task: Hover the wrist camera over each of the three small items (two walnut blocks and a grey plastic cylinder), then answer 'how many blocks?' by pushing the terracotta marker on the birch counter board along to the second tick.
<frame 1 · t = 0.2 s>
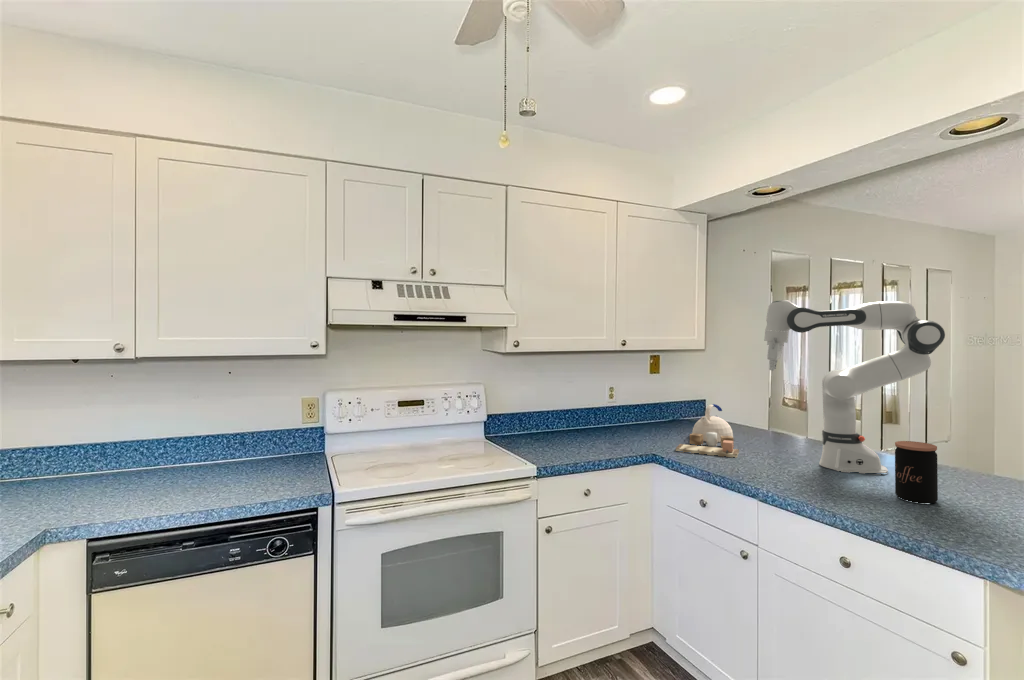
hand: (772, 369, 208), 39 cm above the counter, tool pointing down, fingers open, 8 cm apart
walnut block 1: (696, 444, 240), on the counter
coffee jar: (916, 500, 157), on the counter
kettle: (712, 438, 253), on the counter
grey cylinder: (711, 445, 237), on the counter
walnut block 2: (727, 447, 233), on the counter
counter marker: (727, 446, 218), point 4 cm above the counter, slide at 0.0 cm
counter board: (707, 452, 224), on the counter
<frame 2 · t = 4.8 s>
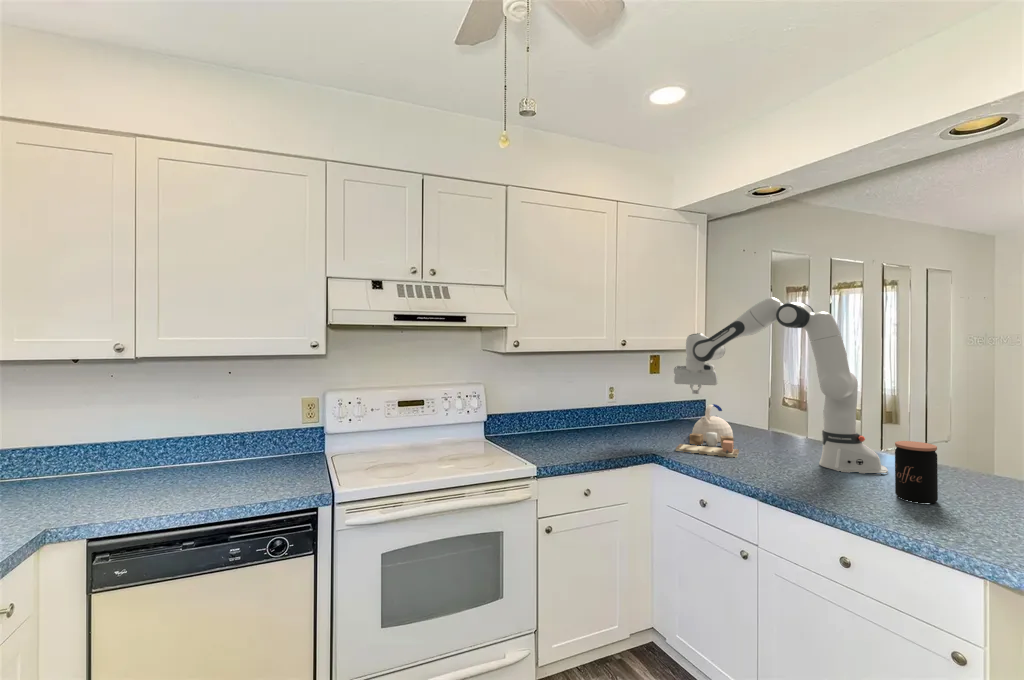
hand: (695, 393, 240), 25 cm above the counter, tool pointing down, fingers closed
nothing on the counter moved.
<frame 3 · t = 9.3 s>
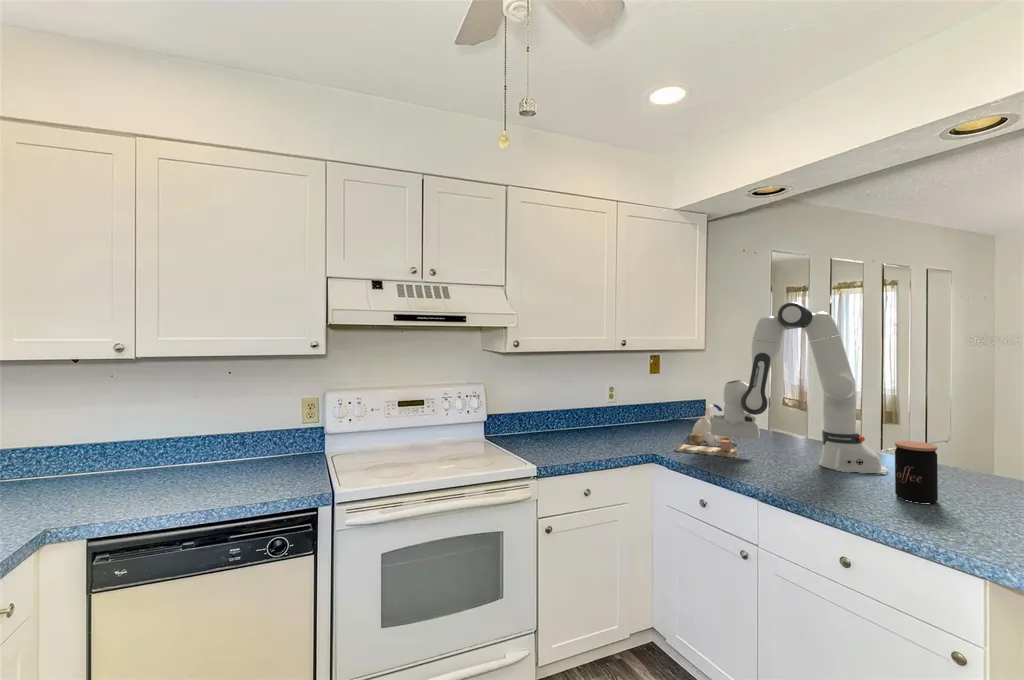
hand: (734, 446, 218), 4 cm above the counter, tool pointing down, fingers closed
counter marker: (725, 446, 218), point 4 cm above the counter, slide at 0.9 cm, touching gripper
everything else where it was.
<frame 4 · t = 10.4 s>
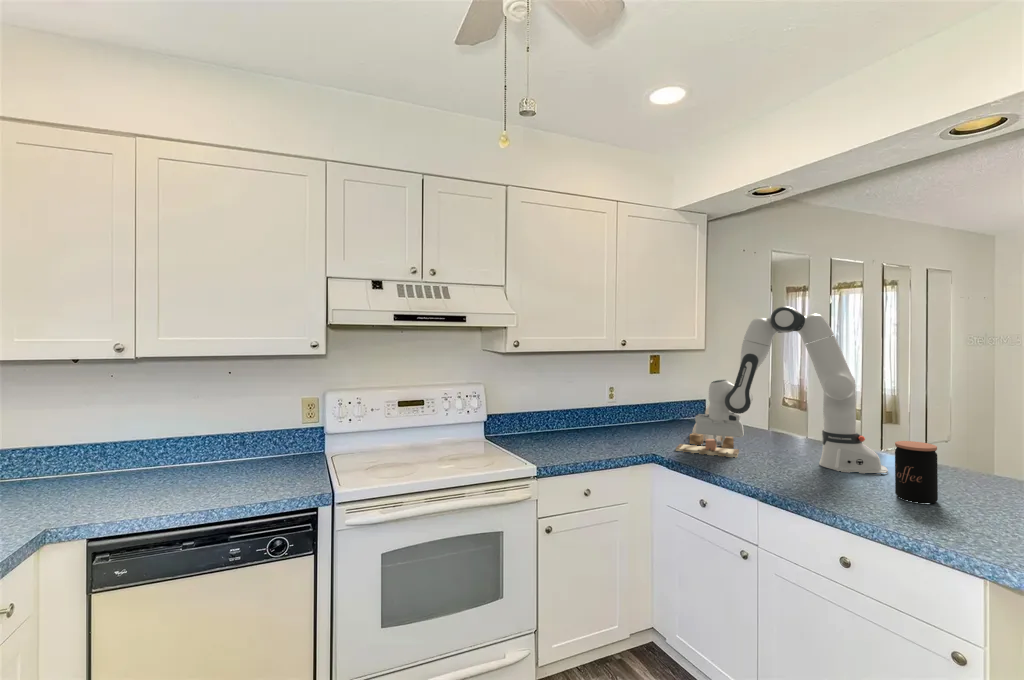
hand: (719, 445, 221), 4 cm above the counter, tool pointing down, fingers closed
counter marker: (710, 444, 222), point 4 cm above the counter, slide at 7.2 cm, touching gripper
everything else where it was.
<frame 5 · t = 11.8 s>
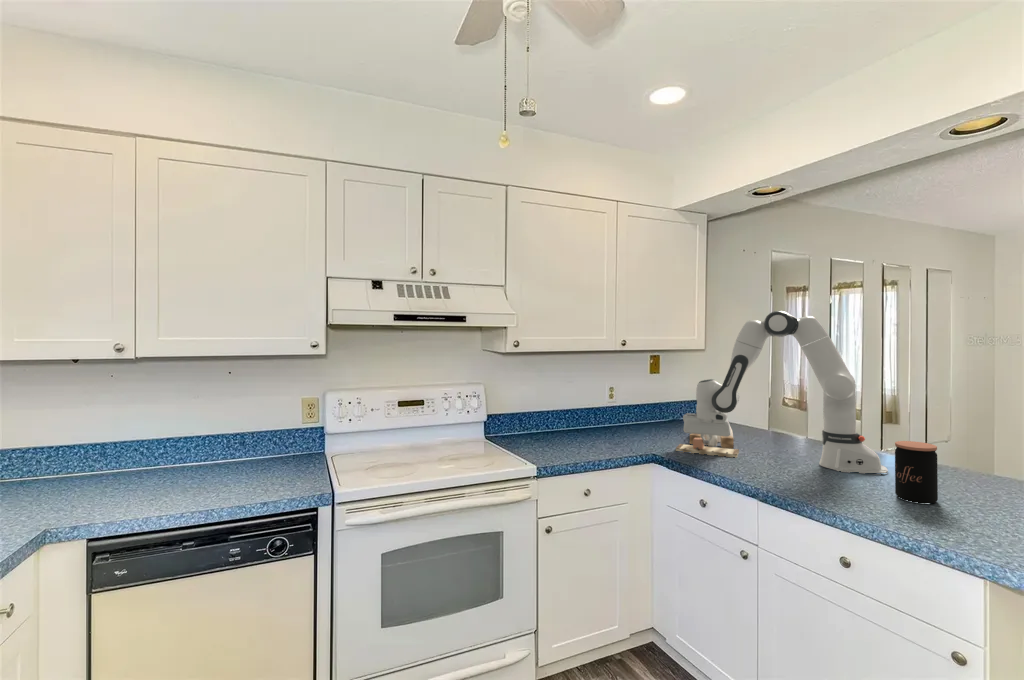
hand: (706, 444, 224), 4 cm above the counter, tool pointing down, fingers closed
counter marker: (698, 443, 224), point 4 cm above the counter, slide at 12.7 cm, touching gripper
everything else where it was.
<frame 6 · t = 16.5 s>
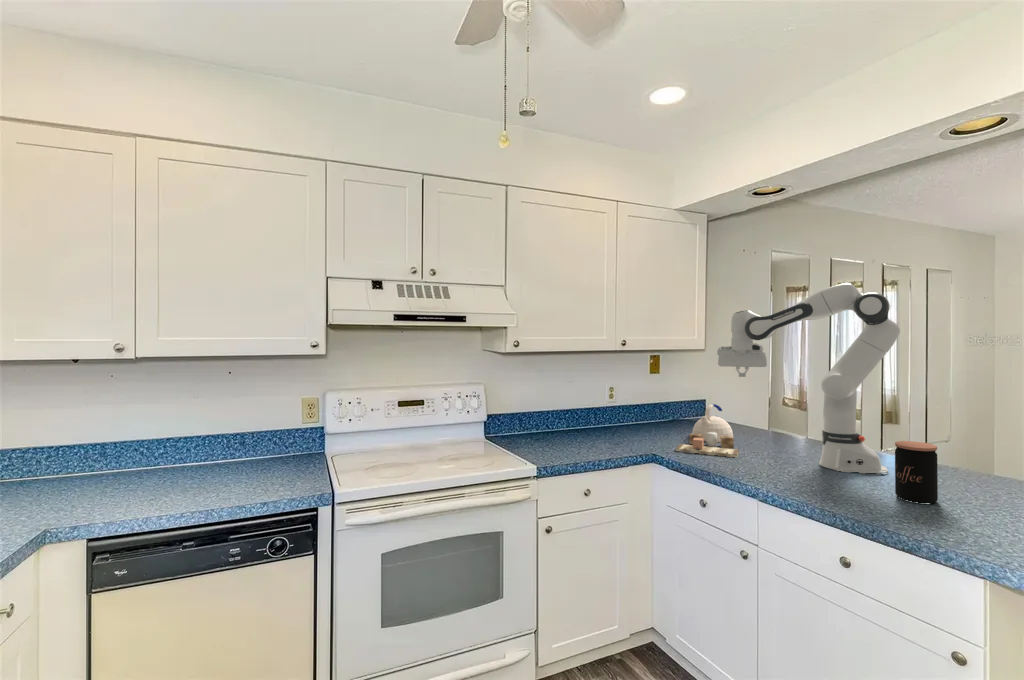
hand: (742, 376, 219), 35 cm above the counter, tool pointing down, fingers closed
counter marker: (697, 443, 224), point 4 cm above the counter, slide at 12.8 cm
everything else where it was.
at the end: counter marker slide at 12.8 cm; walnut block 2 moved 0.1 cm from its start; grey cylinder moved 0.1 cm from its start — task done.
